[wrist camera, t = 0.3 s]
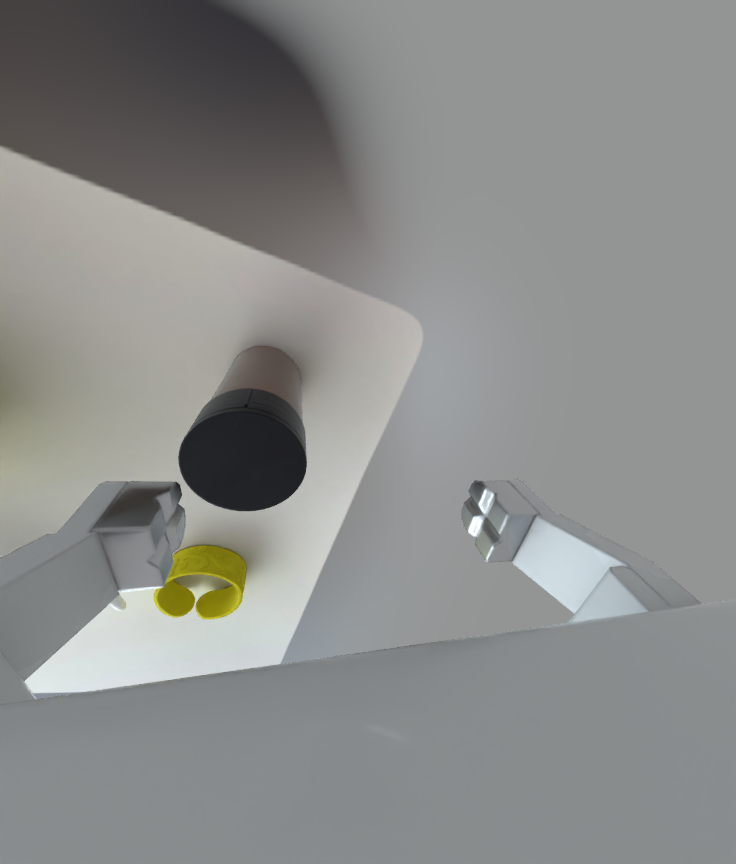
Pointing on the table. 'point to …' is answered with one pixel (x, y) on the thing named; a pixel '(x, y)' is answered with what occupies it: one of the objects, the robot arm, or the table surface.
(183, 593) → the bracelet
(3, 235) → the table surface
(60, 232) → the table surface
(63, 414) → the table surface
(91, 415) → the table surface
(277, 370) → the jar
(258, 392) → the lid
